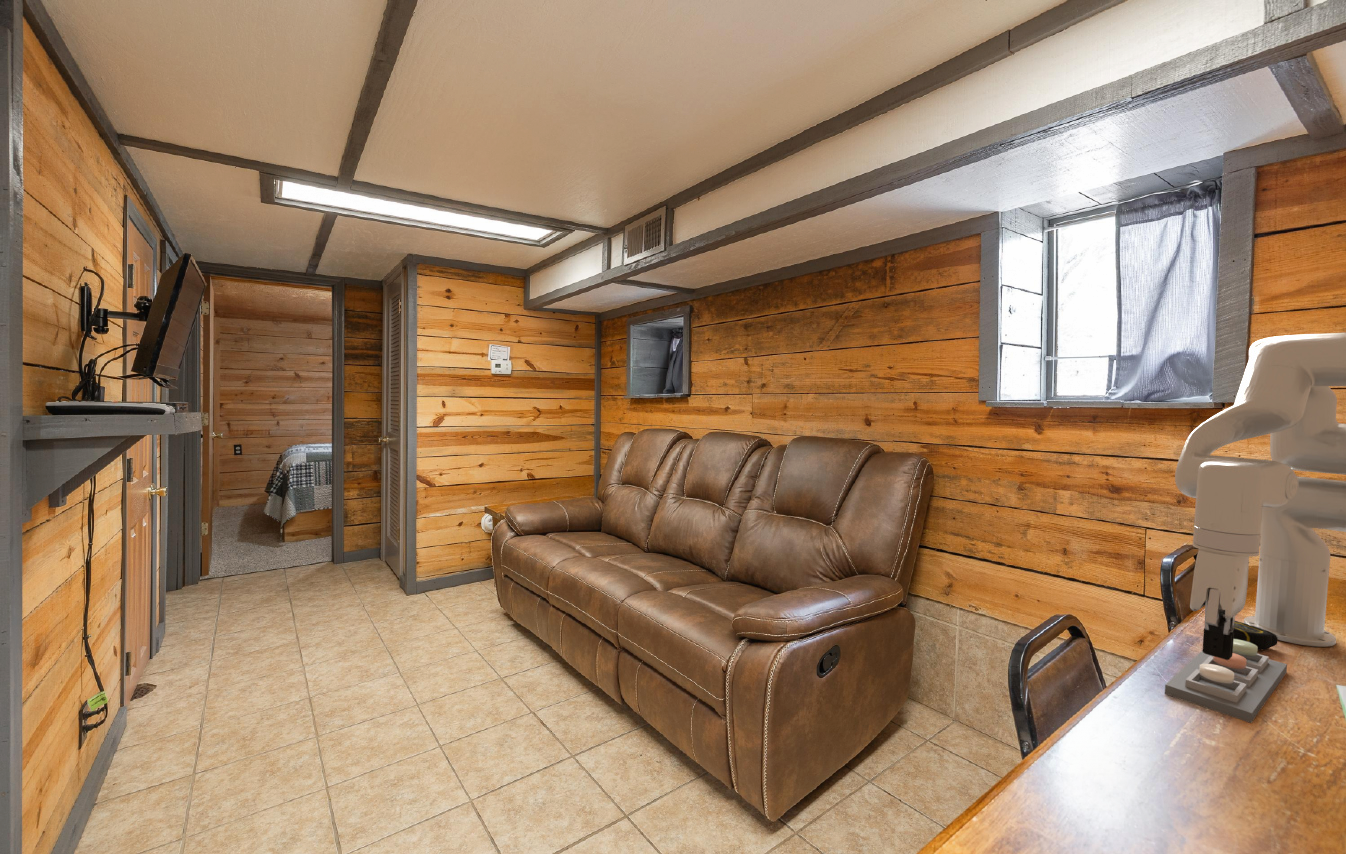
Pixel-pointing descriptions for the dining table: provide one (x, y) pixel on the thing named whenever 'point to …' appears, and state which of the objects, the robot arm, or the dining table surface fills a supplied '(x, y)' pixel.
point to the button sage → (1244, 647)
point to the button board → (1229, 686)
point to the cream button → (1216, 673)
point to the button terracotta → (1232, 661)
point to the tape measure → (1254, 635)
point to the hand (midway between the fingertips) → (1217, 655)
